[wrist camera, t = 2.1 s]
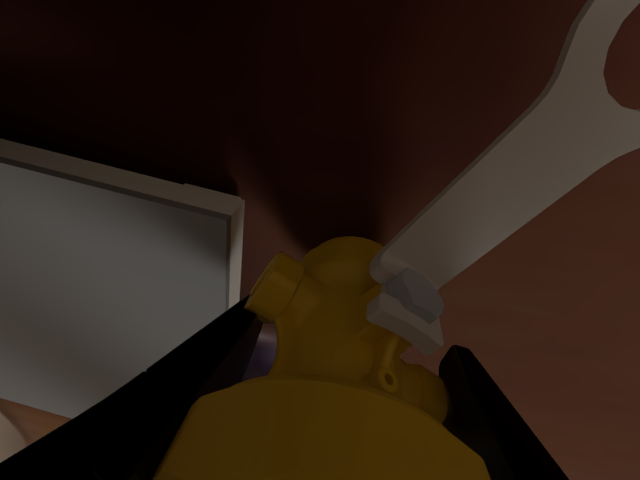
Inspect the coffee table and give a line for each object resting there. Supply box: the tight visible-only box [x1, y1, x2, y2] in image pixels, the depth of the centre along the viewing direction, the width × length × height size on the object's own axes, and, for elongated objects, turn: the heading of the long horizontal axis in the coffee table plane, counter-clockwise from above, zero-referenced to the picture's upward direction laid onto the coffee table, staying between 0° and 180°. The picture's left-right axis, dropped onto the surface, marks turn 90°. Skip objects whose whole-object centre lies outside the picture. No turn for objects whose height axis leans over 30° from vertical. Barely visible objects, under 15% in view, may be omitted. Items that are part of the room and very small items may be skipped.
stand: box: [0, 138, 245, 419], centre depth 14 cm, size 16×15×2 cm
